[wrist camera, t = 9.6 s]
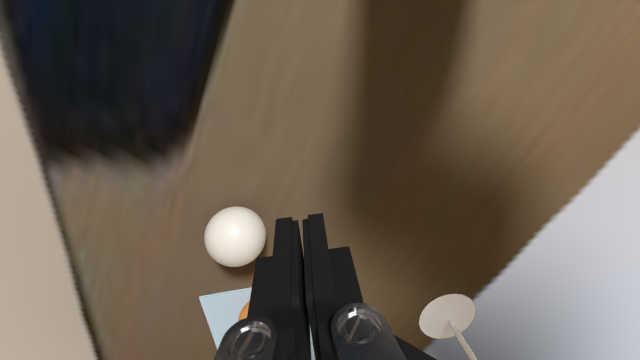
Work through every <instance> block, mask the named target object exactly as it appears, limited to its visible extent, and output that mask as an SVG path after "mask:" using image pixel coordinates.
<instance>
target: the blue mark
mask: <svg viewBox="0 0 640 360" xmlns="http://www.w3.org/2000/svg"><path fill="white" fill-rule="evenodd" d="M251 290H252V287H250V288H245V289H239V290H233V291H227V292H221V293H216V294H210V295H204V296H199V299H200V302H201V305H202V308H203V310H204V313H205V316H206V319H207V321H208V324H209V327H210V330H211V333H212V335H213V338H214V341H215V344H216V346H217V349H218V348H219V345H220V343H221V340H222V338H223V336H224V335H225V333H226V331H227V330H228V329H229V328H230V327H231V326H232V325H234V324H235V323H237V322H238V318H239V314H240V312H241V310H242V308H243V307H244V306H245V304H246V303H247V302H248V301H250V296H251ZM310 341H311V360H315V355H314V348H313V342H312V336H311V330H310Z"/></svg>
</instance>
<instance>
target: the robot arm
mask: <svg viewBox="0 0 640 360" xmlns="http://www.w3.org/2000/svg"><path fill="white" fill-rule="evenodd" d="M302 222H303V245H304V257H303V250H302V244H301V237H300V230H299V224H298V220H296V221H292V217H288V218H280V219H276V226H275V236H274V247H273V256H270V257H262V258H257V261H256V266H255V272H254V278H253V284H252V290H251V296H250V302H249V308H248V314H247V318H245V319H242V320H240V321H238V322H237V323H235V324H234V325H232V326H231V327H230V328H229V329H228V330H227V331H226V333H225V335H224V336H223V338H222V340H221V343H220V345H219V348H218V350H217V353H216V355H215V358H214V360H311V341H310V330H311V336H312V342H313V348H314V355H315V360H436V359H435V358H433V357H431V356H430V355H428V354H426V353H424V352H423V351H421V350H419V349H417V348H416V347H414V346H412V345H410V344H409V343H407V342H405V341H404V340H402V339H400V338H398V337H397V336H395V335H394V334H393V333H392V331H391V329H390V327H389V325H388V323H387V321H386V319H385V317H384V316H383V314H382V313H381V312H380V311H379V310H378V309H376V308H375V307H373V306H371V305H368V304H364V303H363V299H362V295H361V291H360V287H359V283H358V279H357V276H356V272H355V268H354V264H353V260H352V256H351V252H350V249H349V247H341V248H333V249H328V244H327V237H326V231H325V225H324V218H323V213H320V214H312V215H308V219H304V220H302Z"/></svg>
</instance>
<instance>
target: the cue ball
mask: <svg viewBox="0 0 640 360" xmlns="http://www.w3.org/2000/svg"><path fill="white" fill-rule="evenodd" d="M204 239H205V246H206V249H207V251H208V253H209V255H210V256H211V257H212V258H213V259H214V260H215V261H216V262H218V263H220V264H222V265H224V266H229V267H239V266H243V265H246V264H248V263H250V262H252V261H253V260H254V259H255V258H256V257H257V256H258V255H259V254H260V253H261V251H262V249H263V247H264V245H265V241H266V230H265V226H264V224H263V222H262V220H261V218H260V217H259V216H258V215H257V214H256V213H255V212H253V211H252V210H250V209H247V208H244V207H229V208H226V209H223V210H221V211H220V212H218V213H217V214H215V215H214V216H213V217H212V219H211V220H210V221H209V223H208V225H207V227H206V230H205V237H204Z"/></svg>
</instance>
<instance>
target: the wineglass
mask: <svg viewBox="0 0 640 360" xmlns="http://www.w3.org/2000/svg"><path fill="white" fill-rule="evenodd" d="M475 313H476V308H475V304H474V303H473V301H472V300H471V299H470V298H468V297H467V296H465V295H461V294H447V295H444V296H441V297H438V298H436V299H435V300H433V301H432V302H430V303H429V304H428V305H427V306H426V307H425V308H424V309H423V311H422V313H421V315H420V319H419V325H420V328H421V330H422V331H423V333H424V334H425V335H427V336H429V337H431V338H437V339H443V338H450V337H452V336H456V338H457V339H458V341H459V342H460V344H461V346H462V348H463V349H464V351H465V353H466V354H467V356H468V358H469V359H470V360H478V359H477V358H476V356H475V355H474V353H473V351H472V350H471V348H470V347H469V345H468V343H467V342H466V340H465V339H464V337H463V335H462V334H461V332H463V331H464V330H465V329H466V328H467V327H468V326H469V325H471V323H472V321H473V319H474V318H475Z"/></svg>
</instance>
